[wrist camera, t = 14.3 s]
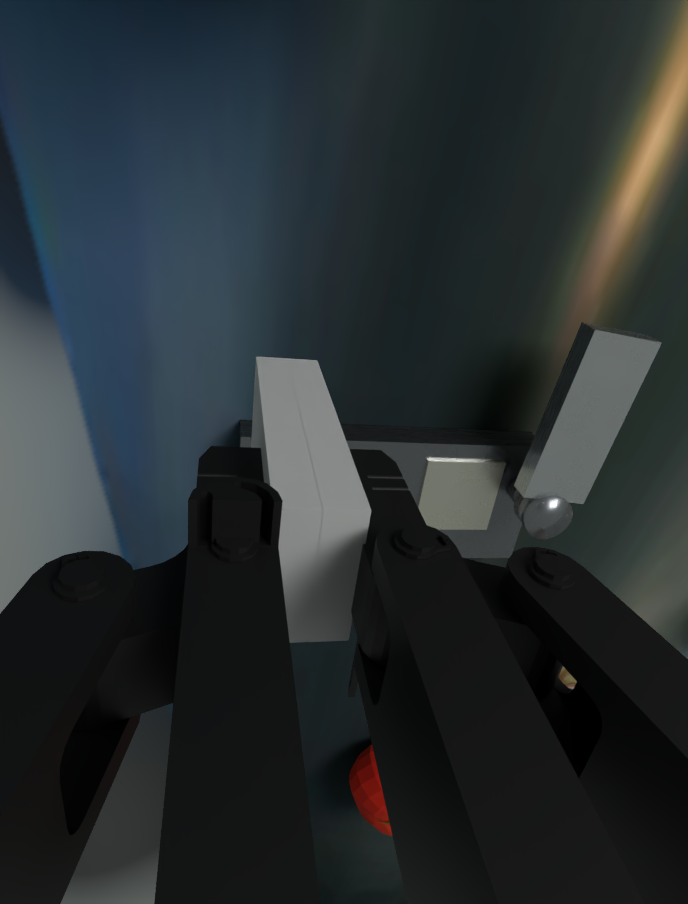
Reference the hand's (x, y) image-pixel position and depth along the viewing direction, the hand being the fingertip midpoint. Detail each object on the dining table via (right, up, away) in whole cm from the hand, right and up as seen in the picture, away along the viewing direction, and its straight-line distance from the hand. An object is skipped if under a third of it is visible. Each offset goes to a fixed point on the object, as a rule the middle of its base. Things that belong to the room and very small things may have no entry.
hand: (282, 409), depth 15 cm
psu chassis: (+5, -4, +39) cm, 39 cm away
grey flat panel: (+19, +1, +32) cm, 38 cm away
